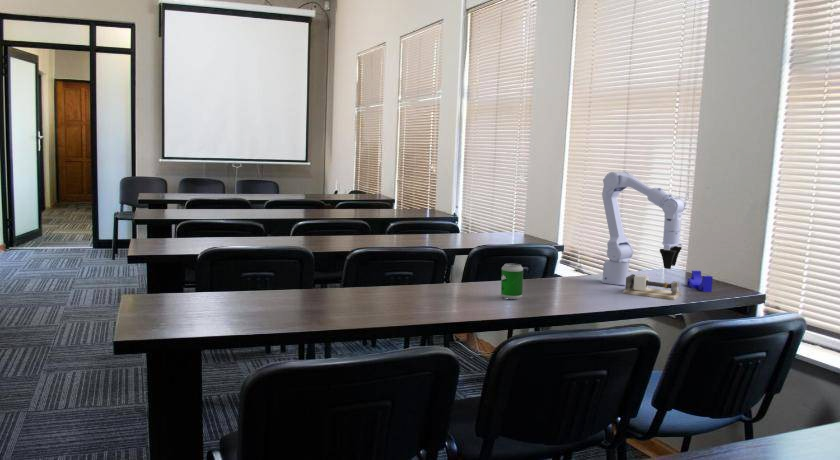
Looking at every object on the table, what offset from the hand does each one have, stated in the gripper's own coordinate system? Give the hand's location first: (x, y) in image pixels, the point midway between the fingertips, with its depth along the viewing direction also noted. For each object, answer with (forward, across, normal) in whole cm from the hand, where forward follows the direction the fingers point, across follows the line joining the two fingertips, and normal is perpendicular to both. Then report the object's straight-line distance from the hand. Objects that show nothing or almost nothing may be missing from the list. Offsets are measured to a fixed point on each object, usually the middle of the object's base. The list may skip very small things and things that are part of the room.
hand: (669, 267), depth 242 cm
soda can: (+10, -43, +44) cm, 62 cm away
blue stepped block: (+10, +15, -8) cm, 20 cm away
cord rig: (+10, -6, +4) cm, 12 cm away
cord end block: (+8, -6, +8) cm, 13 cm away
